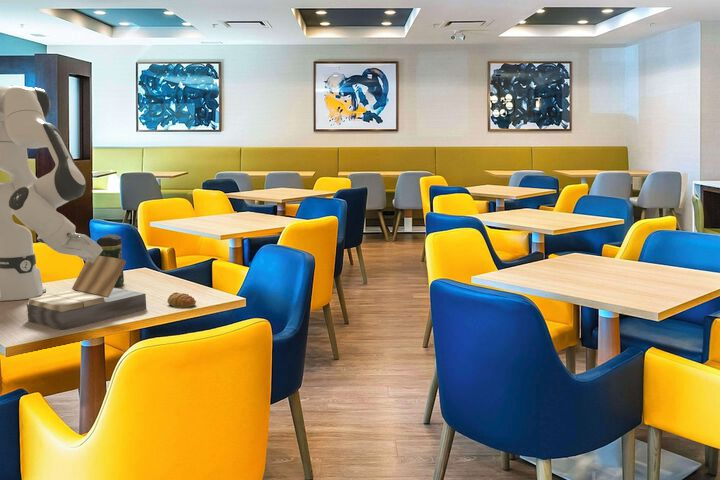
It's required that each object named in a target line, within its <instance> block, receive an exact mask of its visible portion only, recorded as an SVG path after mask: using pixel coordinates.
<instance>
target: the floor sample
mask: <svg viewBox="0 0 720 480" xmlns="http://www.w3.org/2000/svg"><path fill="white" fill-rule="evenodd" d="M145 310H147V295H146V292H140V291H139V292H138V291H134V290H128V289H123V288H117V287H114V288H113V290H112V292H111V294H110V296H109V298H107V297H103V296H98V295H93V294H88V293H83V292H78V291H75V290H73V289H71V290H67V291H61V292H55V293H51V294H47V295H40V296H36V297H32V298H28V304H26V312H27V321H28V322H30V323H34V324H39V325H42V326H46V327H49V328H52V329H57V330H59V331H65V330H68V329H73V328H76V327H80V326H85V325H89V324H92V323H97V322H101V321H105V320H109V319H112V318H117V317H120V316H126V315H129V314H133V313H137V312H141V311H145Z"/></svg>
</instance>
